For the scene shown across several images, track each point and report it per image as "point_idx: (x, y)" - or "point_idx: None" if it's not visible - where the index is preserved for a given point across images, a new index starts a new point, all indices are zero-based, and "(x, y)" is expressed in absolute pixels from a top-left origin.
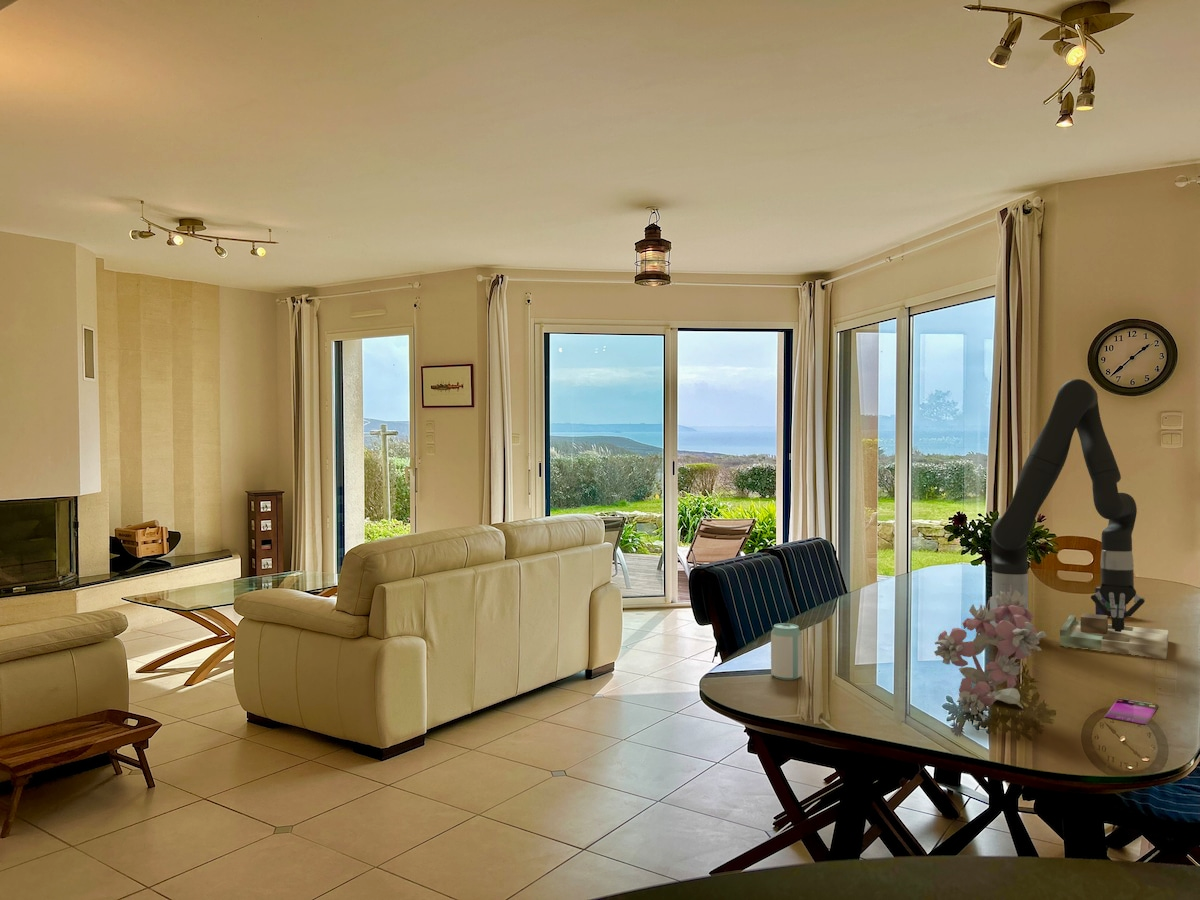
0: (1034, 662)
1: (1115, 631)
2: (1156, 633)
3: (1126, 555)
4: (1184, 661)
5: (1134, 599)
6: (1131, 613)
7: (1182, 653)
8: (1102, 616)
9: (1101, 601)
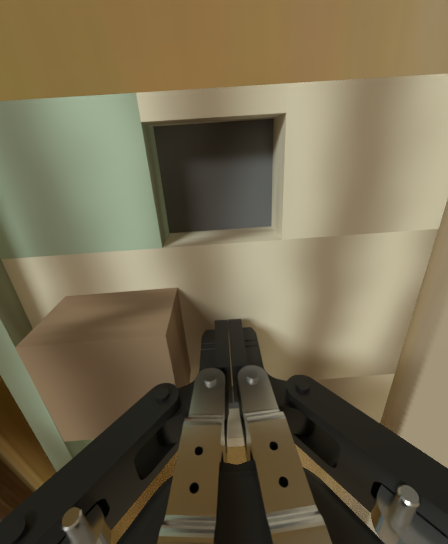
0: (111, 539)
1: (212, 298)
2: (390, 228)
3: None
4: (399, 396)
5: (391, 540)
6: (314, 432)
7: (421, 308)
8: (148, 378)
9: (107, 479)
